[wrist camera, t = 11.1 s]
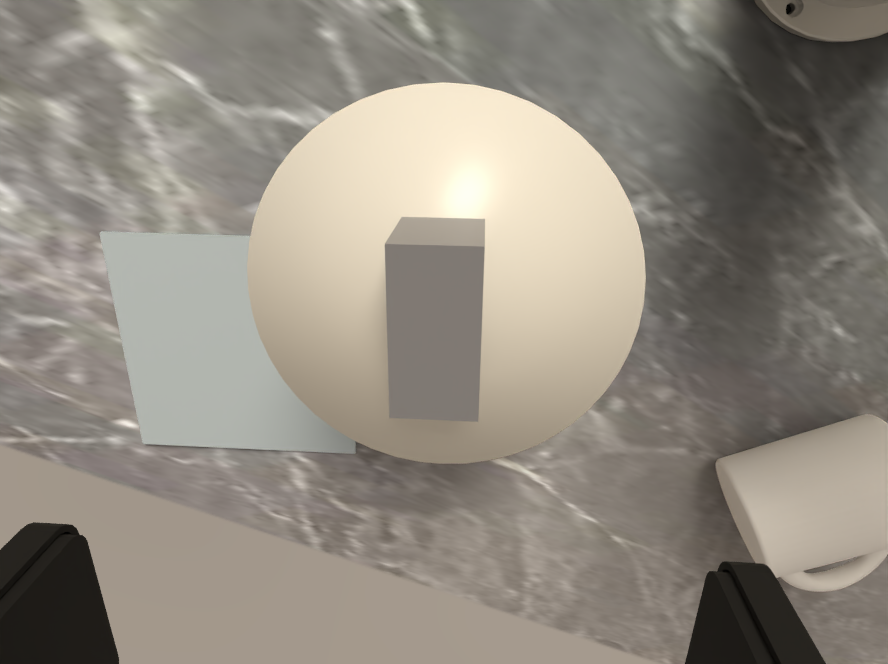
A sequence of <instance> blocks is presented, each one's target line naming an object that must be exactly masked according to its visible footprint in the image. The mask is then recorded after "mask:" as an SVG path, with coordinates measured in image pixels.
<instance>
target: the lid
mask: <svg viewBox="0 0 888 664" xmlns="http://www.w3.org/2000/svg"><path fill="white" fill-rule="evenodd" d="M247 276H248V292H249V298H250V303H251V308H252V314H253V317H254V320H255V324H256V327H257V330H258V333H259V336H260V339H261V341H262V343H263V345H264V347H265V349H266V351H267V353H268V356H269V358H270V360H271V361H272V363H273V364H274V366H275V368H276V369H277V371H278V372H279V374H280V376H281V377H282V379H283V380H284V381H285V383H286V384H287V385H288V386H289V387H290V389H291V390H292V391H293V392H294V394H295V395H296V396H297V397H298V398H299V399H300V400H301V401H302V402H303V403H304V404H305V405H306V406H307V407H308V408H309V409H310V410H311V411H312V412H313V413H314V414H315V415H317V416H318V417H319V418H321V419H322V420H323V421H324V422H326V423H327V424H328V425H330V426H331V427H332V428H334V429H335V430H337V431H339V432H340V433H342V434H344V435H345V436H347V437H349V438H350V439H352V440H354V441H356V442H358V443H361V444H363V445H365V446H367V447H369V448H371V449H374V450H377V451H380V452H383V453H386V454H389V455H392V456H395V457H399V458H403V459H408V460H413V461H417V462H427V463H437V464H466V463H474V462H482V461H489V460H493V459H497V458H501V457H506V456H510V455H512V454H515V453H518V452H521V451H523V450H526V449H529V448H532V447H534V446H536V445H538V444H540V443H542V442H544V441H546V440H548V439H549V438H551V437H553V436H555V435H556V434H558V433H559V432H561V431H562V430H564V429H565V428H567V427H568V426H570V425H571V424H572V423H574V422H575V421H576V420H577V419H578V418H580V417H581V416H582V415H583V414H584V413H585V412H587V411H588V410H589V409H590V408H591V407H592V406H593V405H594V404H595V402H596V401H597V400H598V399H599V398H600V397H601V396H602V395H603V394H604V393H605V391H606V390H607V389H608V387H609V386H610V384H611V383H612V381H613V380H614V379H615V377H616V376H617V374H618V373H619V371H620V369H621V368H622V366H623V364H624V362H625V360H626V358H627V356H628V354H629V352H630V350H631V347H632V345H633V342H634V339H635V336H636V334H637V331H638V328H639V324H640V319H641V314H642V310H643V305H644V295H645V282H646V274H645V259H644V250H643V245H642V240H641V235H640V231H639V226H638V223H637V221H636V218H635V215H634V212H633V210H632V207H631V204H630V202H629V200H628V198H627V196H626V194H625V192H624V190H623V188H622V187H621V185H620V183H619V181H618V179H617V177H616V176H615V174H614V173H613V172H612V170H611V169H610V168H609V166H608V165H607V164H606V162H605V161H604V160H603V158H602V157H601V156H600V154H599V153H598V152H597V151H596V150H595V149H594V148H593V147H592V146H591V145H590V144H589V143H588V142H587V141H586V140H585V139H584V138H583V137H582V136H581V135H580V134H579V133H578V132H576V131H575V130H574V129H572V128H571V127H570V126H568V125H567V124H566V123H564V122H563V121H562V120H560V119H559V118H558V117H556V116H555V115H553V114H551V113H549V112H548V111H546V110H544V109H542V108H540V107H538V106H537V105H535V104H533V103H531V102H529V101H527V100H524V99H521V98H519V97H516V96H514V95H511V94H508V93H506V92H503V91H499V90H495V89H490V88H486V87H482V86H477V85H469V84H457V83H429V84H415V85H410V86H405V87H400V88H395V89H390V90H386V91H383V92H380V93H377V94H375V95H372V96H369V97H366V98H364V99H361V100H359V101H357V102H355V103H353V104H351V105H349V106H347V107H345V108H343V109H342V110H340V111H338V112H336V113H334V114H333V115H331V116H330V117H329V118H327V119H326V120H325V121H323V122H322V123H321V124H319V125H318V126H316V127H315V128H314V129H312V130H311V131H310V132H309V133H308V134H307V135H306V136H305V137H304V138H303V139H302V140H301V141H300V142H299V143H298V144H297V145H296V146H295V147H294V148H293V149H292V150H291V152H290V153H289V154H288V156H287V157H286V158H285V160H284V161H283V162H282V164H281V165H280V166H279V168H278V169H277V170H276V172H275V174H274V176H273V177H272V179H271V181H270V183H269V185H268V186H267V188H266V190H265V192H264V194H263V197H262V199H261V202H260V204H259V207H258V210H257V212H256V215H255V218H254V222H253V227H252V231H251V236H250V240H249V249H248V261H247Z"/></svg>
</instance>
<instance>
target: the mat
mask: <svg viewBox="0 0 888 664" xmlns="http://www.w3.org/2000/svg"><path fill="white" fill-rule="evenodd" d="M99 234H100V238H101V243H102V248H103V253H104V258H105V263H106V267H107V272H108V277H109V282H110V287H111V292H112V297H113V301H114V306H115V311H116V316H117V321H118V326H119V331H120V335H121V340H122V345H123V350H124V355H125V360H126V364H127V369H128V374H129V379H130V384H131V389H132V394H133V398H134V403H135V408H136V413H137V418H138V423H139V428H140V432H141V437H142V442H143V444H155V445H176V446H197V447H219V448H240V449H261V450H283V451H304V452H325V453H346V454H356V441H354V440H352V439H350V438H349V437H347V436H345V435H344V434H342V433H340V432H339V431H337V430H335V429H334V428H332V427H331V426H330V425H328V424H327V423H326V422H324V421H323V420H322V419H321V418H319V417H318V416H317V415H315V414H314V413H313V412H312V411H311V410H310V409H309V408H308V407H307V406H306V405H305V404H304V403H303V402H302V401H301V400H300V399H299V398H298V397H297V396H296V395H295V394H294V392H293V391H292V390H291V389H290V387H289V386H288V385H287V384H286V383H285V381H284V380H283V379H282V377H281V376H280V374H279V372H278V371H277V369H276V368H275V366H274V364H273V363H272V361H271V360H270V358H269V356H268V353H267V351H266V349H265V347H264V345H263V343H262V341H261V339H260V336H259V333H258V330H257V327H256V324H255V320H254V317H253V314H252V308H251V303H250V298H249V292H248V276H247V261H248V249H249V240H250V236H237V235H205V234H172V233H140V232H107V231H103V232H100V233H99Z"/></svg>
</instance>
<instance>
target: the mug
mask: <svg viewBox="0 0 888 664" xmlns="http://www.w3.org/2000/svg"><path fill="white" fill-rule="evenodd" d="M716 472H717V476H718V479H719V482H720V486H721V488H722V491H723V494H724V497H725V499H726V502H727V504H728V507H729V509H730V512H731V514H732V517H733V519H734V521H735V523H736V526H737V528H738V530H739V532H740V534H741V536H742V539H743V541H744V543H745V545H746V547H747V549H748V551H749V552H750V554H751V556H752V558H753V560H754V561H755V563H761V564H765V565H767V566H768V567H769V568H770V569H771V571H772V572H773V573H774V575H775V577H776V578H778V577H781V578H782V579H783V580H784V581H785V582H787V583H788V584H790V585H792V586H794V587H796V588H799V589H802V590H807V591H816V592H825V591H834V590H838V589H842V588H845V587H847V586H850V585H852V584H854V583H856V582H858V581H859V580H861V579H862V578H864V577H865V576H867V575H868V574H869V573H871V572H872V571H873V570H874V569H875V568H876V567H878V566H879V565H880V563H881V562H882V561H883V560H884V559H885V557H886V556H887V554H888V424H887V423H886V422H885V421H883V420H882V419H880V418H879V417H877V416H874V415H871V414H863V415H860V416H857V417H853V418H850V419H847V420H844V421H840V422H837V423H834V424H830V425H827V426H824V427H821V428H817V429H814V430H811V431H808V432H804V433H801V434H798V435H794V436H791V437H788V438H785V439H781V440H778V441H775V442H771V443H768V444H765V445H762V446H758V447H755V448H752V449H749V450H745V451H742V452H739V453H735V454H732V455H729V456H726V457H722V458H719V459H717V461H716ZM855 557H857V558H856V559H854V560H852V561H850V562H848V563H846V564H844V565H841V566H838V567H835V568H832V569H829V570H826V571H822V572H818V573H806V572H804V571H805V570H809V569H812V568H816V567H820V566H824V565H828V564H832V563H835V562H839V561H843V560H847V559H851V558H855Z"/></svg>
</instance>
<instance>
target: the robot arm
mask: <svg viewBox="0 0 888 664" xmlns="http://www.w3.org/2000/svg"><path fill="white" fill-rule="evenodd" d="M754 1H755V3H756V5H757V6H758V7H759V8H760V9H761V10H762V11H763V12H764V13H765V14H766V15H767V16H768V17H769V18H770V20H771V21H773V22H774V23H776V24H777V25H779V26H780V27H782V28H784V29H785V30H787V31H788V32H790V33H792V34H795V35H798V36H801V37H804V38H806V39H809V40H816V41H824V42H847V41H856V40H862V39H867V38H872V37H877V36H880V35H883V34H885V33H888V0H754ZM787 4H789V5H790V6H791V11H790V13H789V14H788V15H787V13H786V6H787ZM0 664H119V657H118V653H117V649H116V646H115V642H114V638H113V635H112V631H111V627H110V624H109V620H108V617H107V612H106V609H105V605H104V601H103V597H102V594H101V590H100V586H99V583H98V579H97V575H96V572H95V568H94V565H93V560H92V557H91V553H90V549H89V546H88V542H87V540H86V538H85V537H84V536H83V535H79V533H78V530H77V529H76V528H75V527H74V526H73V525H67V524H51V523H31V524H28V525H26V526H25V527H24V528H22V529H21V530H20V531H19V532H18V533H17V534H16V535H15V536H14V537H13V538H12V539H11V540H10V541H9V542H8V543H7V544H6V545H5V546H4V547H3V548H2V549H1V550H0ZM685 664H826V663H825V661H824V660H823V658H822V656H821V655H820V653H819V651H818V649H817V648H816V646H815V644H814V642H813V641H812V639H811V637H810V636H809V634H808V632H807V630H806V629H805V627H804V625H803V623H802V622H801V620H800V618H799V617H798V615H797V613H796V611H795V610H794V608H793V606H792V605H791V603H790V601H789V599H788V598H787V596H786V594H785V592H784V591H783V589H782V587H781V586H780V584H779V582H778V580H777V579H776V577H775V575H774V573H773V572H772V571H771V569H770V568H769V567H768V566H767V565H765V564H761V563H743V562H722V563H721V564H720V566H719V568H718V571H717V572H716V571H709V573H708V574H707V576H706V579H705V583H704V588H703V592H702V596H701V600H700V604H699V608H698V612H697V616H696V621H695V625H694V629H693V633H692V637H691V641H690V645H689V649H688V654H687V658H686V662H685Z"/></svg>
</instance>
